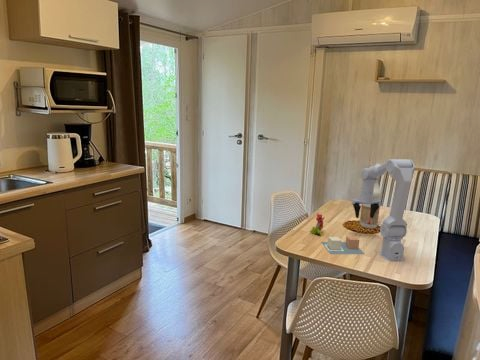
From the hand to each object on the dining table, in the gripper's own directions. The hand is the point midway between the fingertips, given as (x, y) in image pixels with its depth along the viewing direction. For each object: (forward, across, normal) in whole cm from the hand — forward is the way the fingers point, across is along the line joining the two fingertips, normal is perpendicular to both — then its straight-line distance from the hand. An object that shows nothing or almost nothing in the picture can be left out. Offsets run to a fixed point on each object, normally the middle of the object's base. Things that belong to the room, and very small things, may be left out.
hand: (364, 217), depth 184 cm
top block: (+9, +12, +16) cm, 22 cm away
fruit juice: (+10, -10, -15) cm, 21 cm away
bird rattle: (+10, +23, -2) cm, 25 cm away
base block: (+9, +21, +17) cm, 29 cm away
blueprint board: (+10, +17, +17) cm, 26 cm away
